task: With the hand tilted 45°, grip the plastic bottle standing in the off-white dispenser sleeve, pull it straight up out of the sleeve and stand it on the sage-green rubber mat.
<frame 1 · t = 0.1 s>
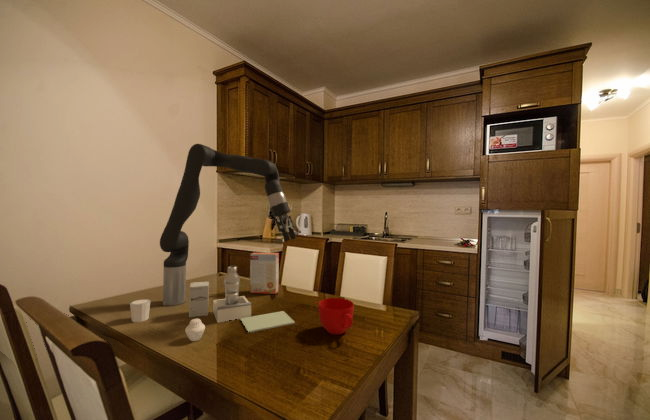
hand: (290, 239, 119), 31 cm above the table, tool tilted 20°, fingers open, 8 cm apart
supplement box: (199, 314, 117), on the table
ceramic cup: (338, 333, 100), on the table
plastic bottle: (231, 314, 116), resting in dispenser sleeve
muffin: (195, 339, 94), on the table
dispenser sleeve: (231, 314, 116), on the table
mat: (267, 321, 109), on the table
cracker box: (264, 292, 147), on the table
shot glass: (140, 319, 110), on the table
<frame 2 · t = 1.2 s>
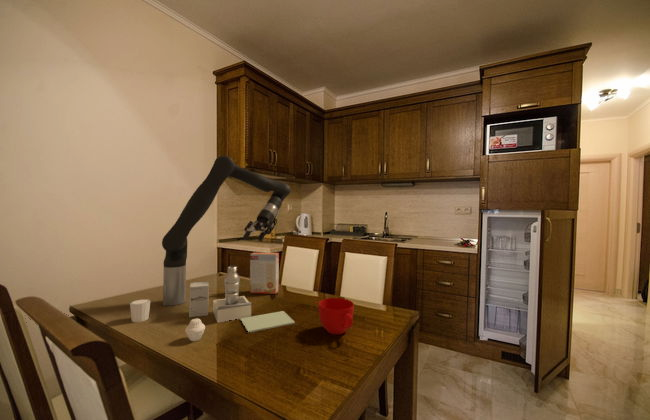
hand: (251, 239, 127), 30 cm above the table, tool tilted 45°, fingers open, 8 cm apart
nothing on the table moved.
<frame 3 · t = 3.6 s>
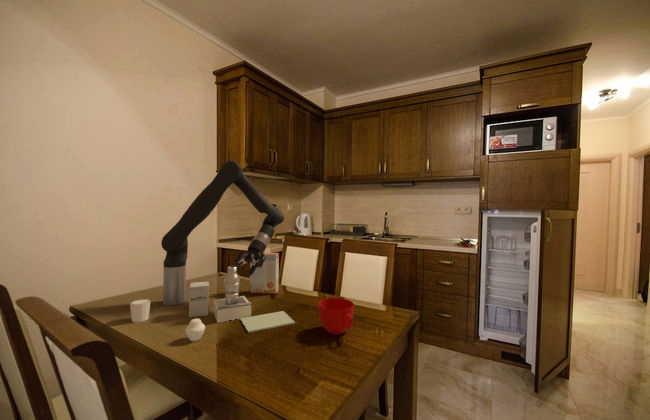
hand: (242, 272, 121), 16 cm above the table, tool tilted 45°, fingers open, 8 cm apart
nothing on the table moved.
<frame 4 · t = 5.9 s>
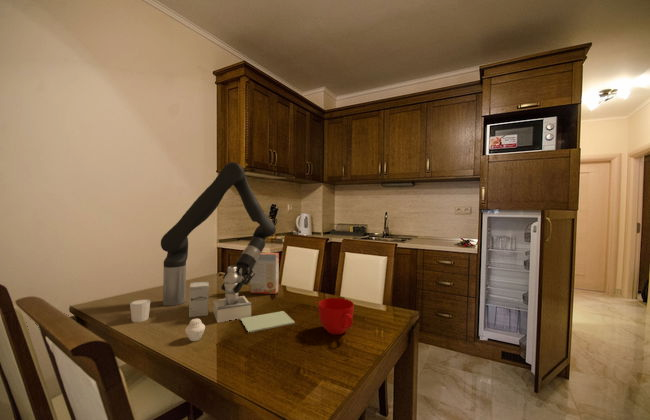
hand: (229, 290, 115), 10 cm above the table, tool tilted 45°, fingers closed on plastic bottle, 6 cm apart
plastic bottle: (231, 314, 116), resting in dispenser sleeve, touching gripper
everything else where it was.
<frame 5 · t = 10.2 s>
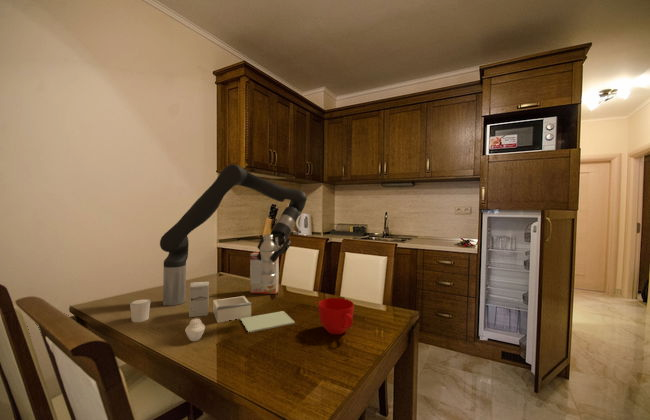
hand: (265, 259, 108), 25 cm above the table, tool tilted 45°, fingers closed on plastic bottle, 6 cm apart
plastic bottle: (267, 285, 109), point 14 cm above the table, touching gripper
everything else where it was.
when the fingers open (12 cm above the table, at t = 12.9 s): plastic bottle drops 1 cm, resting on mat.
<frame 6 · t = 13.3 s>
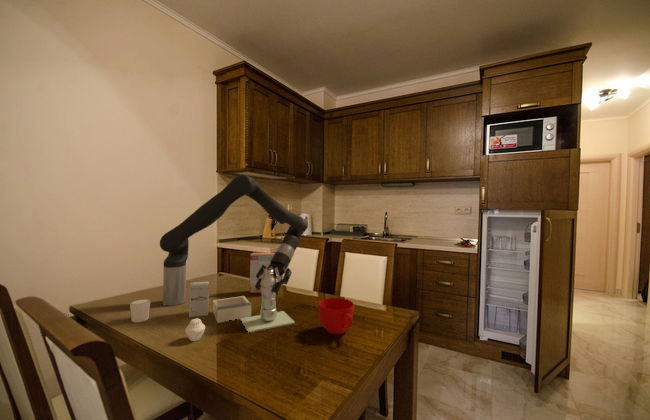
hand: (265, 290, 108), 13 cm above the table, tool tilted 45°, fingers open, 8 cm apart
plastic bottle: (268, 320, 109), resting on mat
everything else where it was.
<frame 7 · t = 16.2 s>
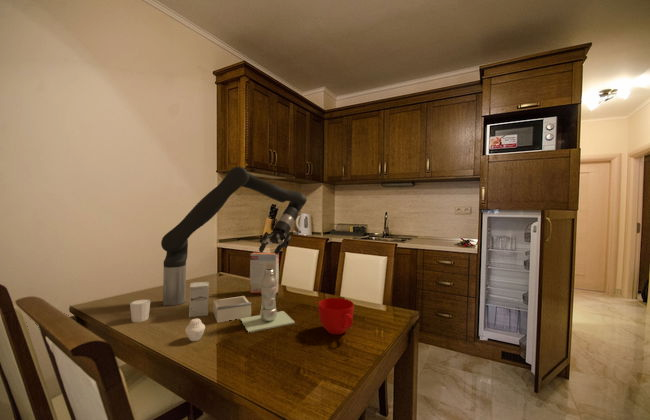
hand: (267, 252, 122), 25 cm above the table, tool tilted 45°, fingers open, 8 cm apart
nothing on the table moved.
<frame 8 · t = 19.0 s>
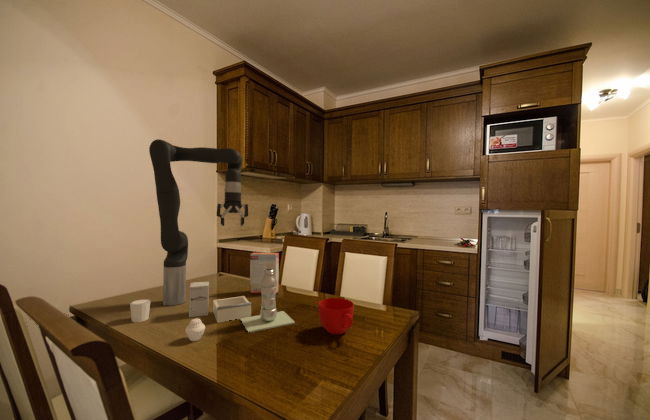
hand: (232, 225, 132), 36 cm above the table, tool pointing down, fingers open, 8 cm apart
nothing on the table moved.
at the end: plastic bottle inside the target area on the mat (0.4 cm from its centre), point 0.4 cm above the mat's base; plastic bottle tilted 0°; the gripper is holding nothing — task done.
